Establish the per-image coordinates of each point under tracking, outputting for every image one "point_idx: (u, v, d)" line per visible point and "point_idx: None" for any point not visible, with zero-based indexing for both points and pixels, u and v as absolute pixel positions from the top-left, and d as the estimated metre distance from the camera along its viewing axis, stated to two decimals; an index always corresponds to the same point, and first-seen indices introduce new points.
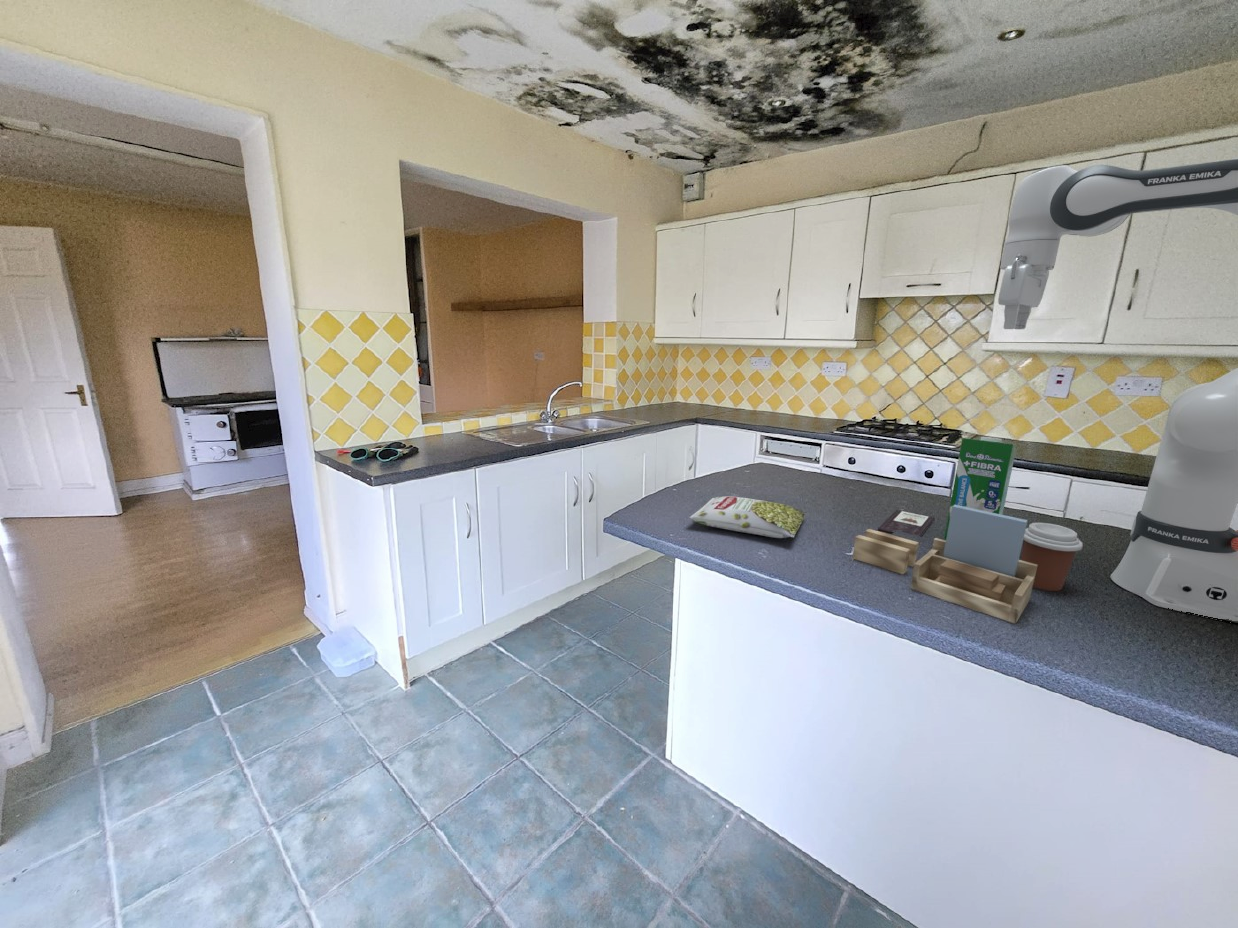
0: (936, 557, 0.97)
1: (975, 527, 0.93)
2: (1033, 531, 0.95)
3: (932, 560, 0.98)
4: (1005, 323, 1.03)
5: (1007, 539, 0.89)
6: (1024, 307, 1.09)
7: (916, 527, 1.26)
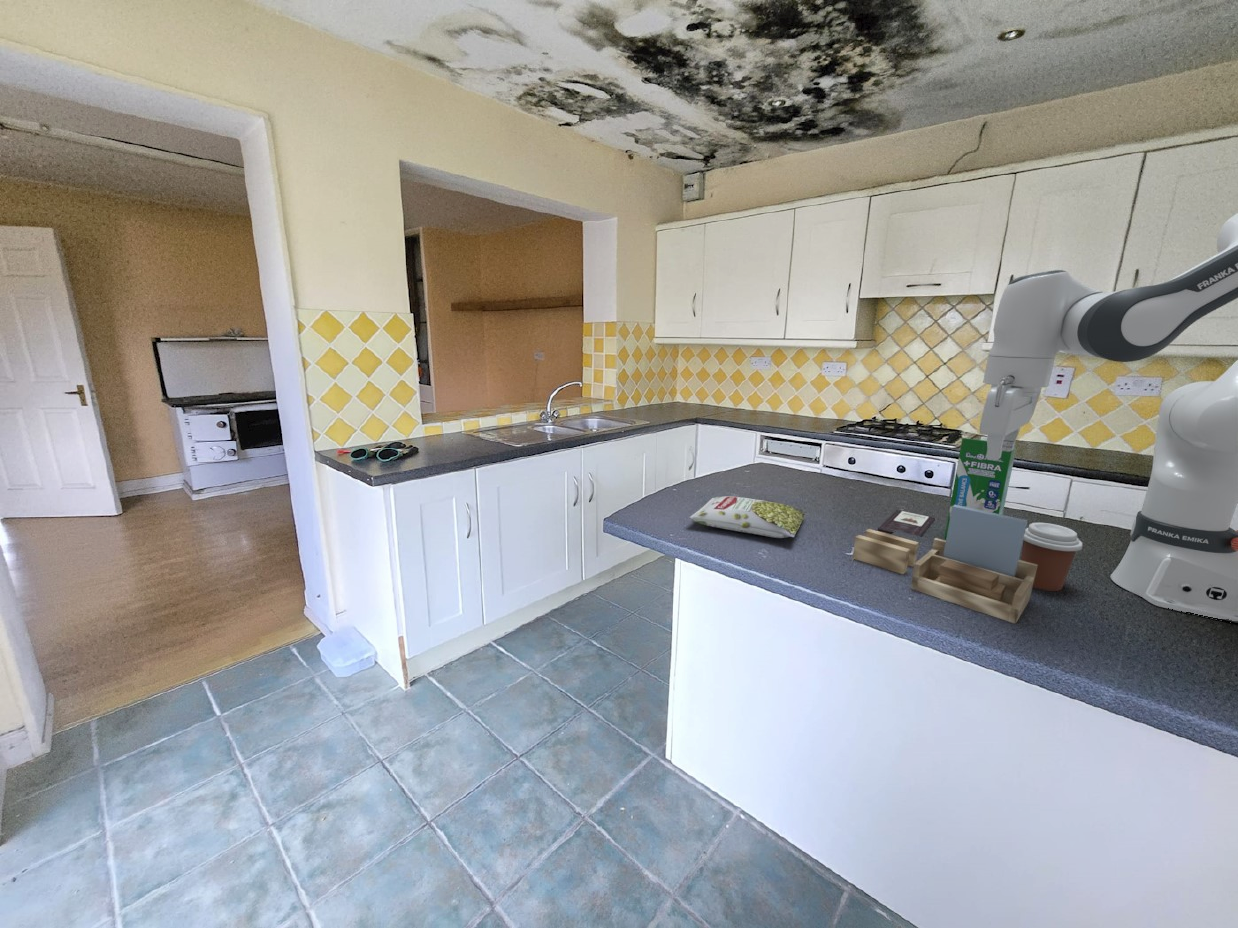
0: (936, 557, 0.97)
1: (975, 527, 0.93)
2: (1033, 531, 0.95)
3: (932, 560, 0.98)
4: (988, 452, 0.85)
5: (1007, 539, 0.89)
6: None
7: (916, 527, 1.26)
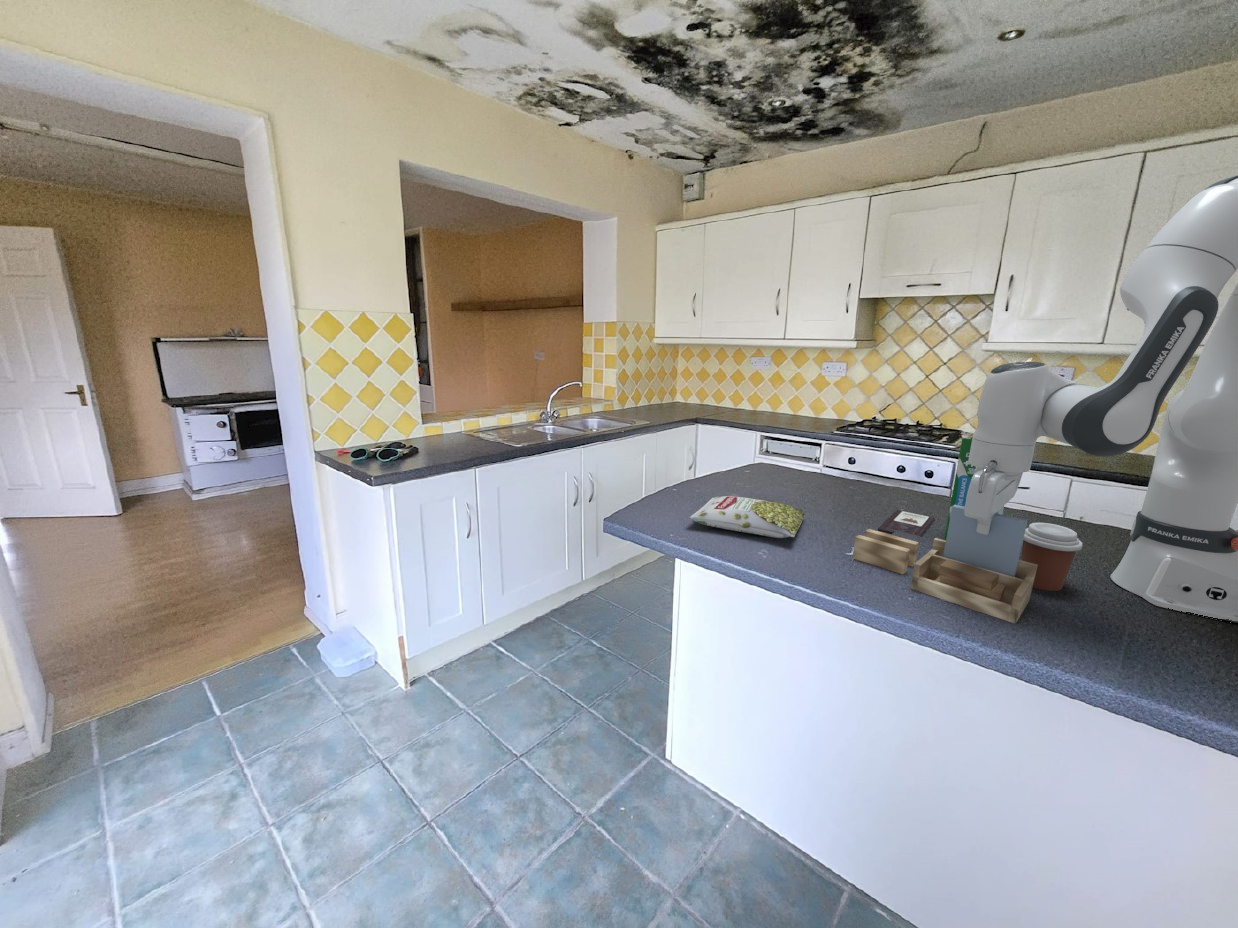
0: (936, 557, 0.97)
1: (975, 527, 0.93)
2: (1033, 531, 0.95)
3: (932, 560, 0.98)
4: (978, 526, 0.91)
5: (1007, 539, 0.89)
6: None
7: (916, 527, 1.26)
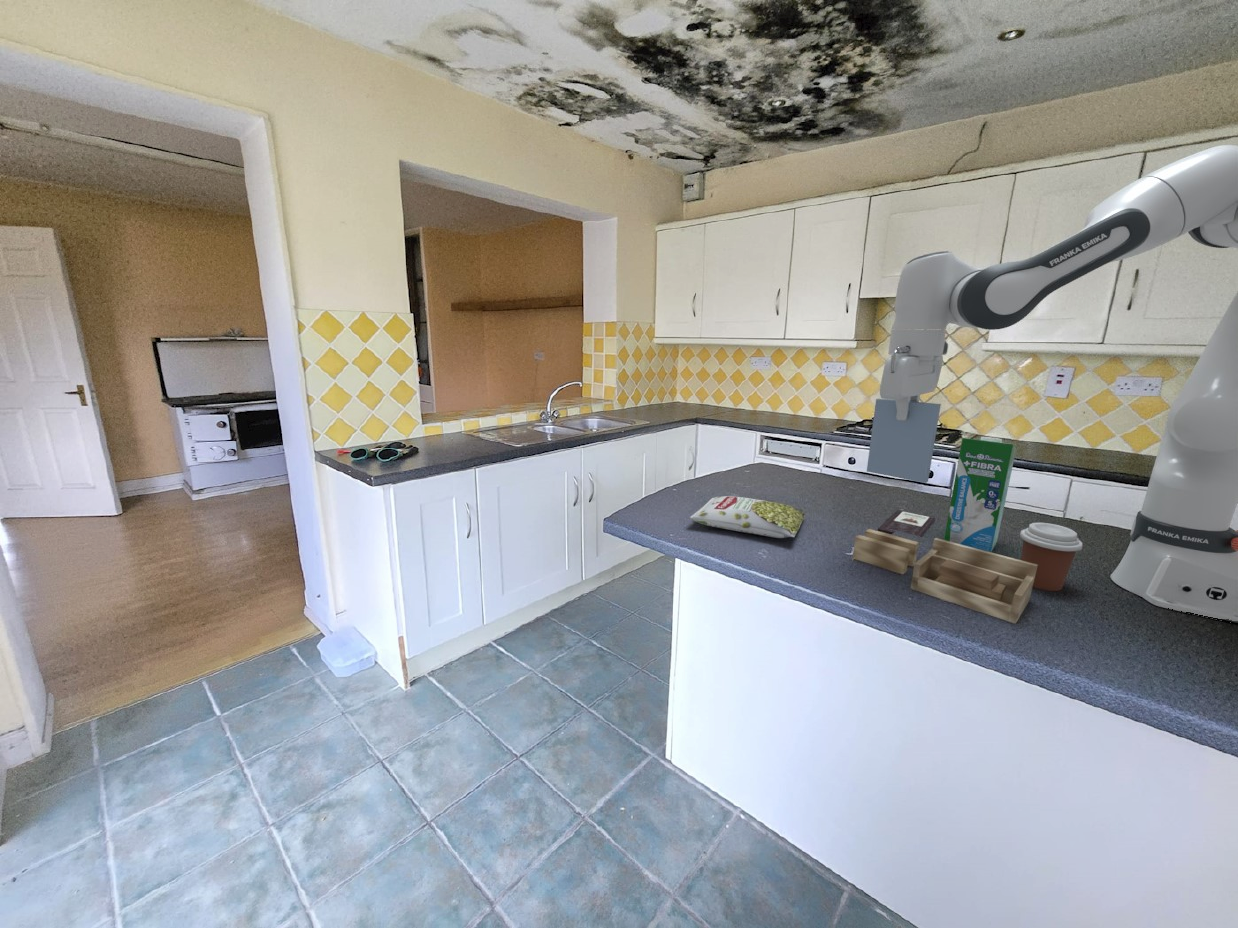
0: (936, 557, 0.97)
1: None
2: (1033, 531, 0.95)
3: (932, 560, 0.98)
4: (897, 413, 0.97)
5: (923, 423, 0.96)
6: None
7: (916, 527, 1.26)
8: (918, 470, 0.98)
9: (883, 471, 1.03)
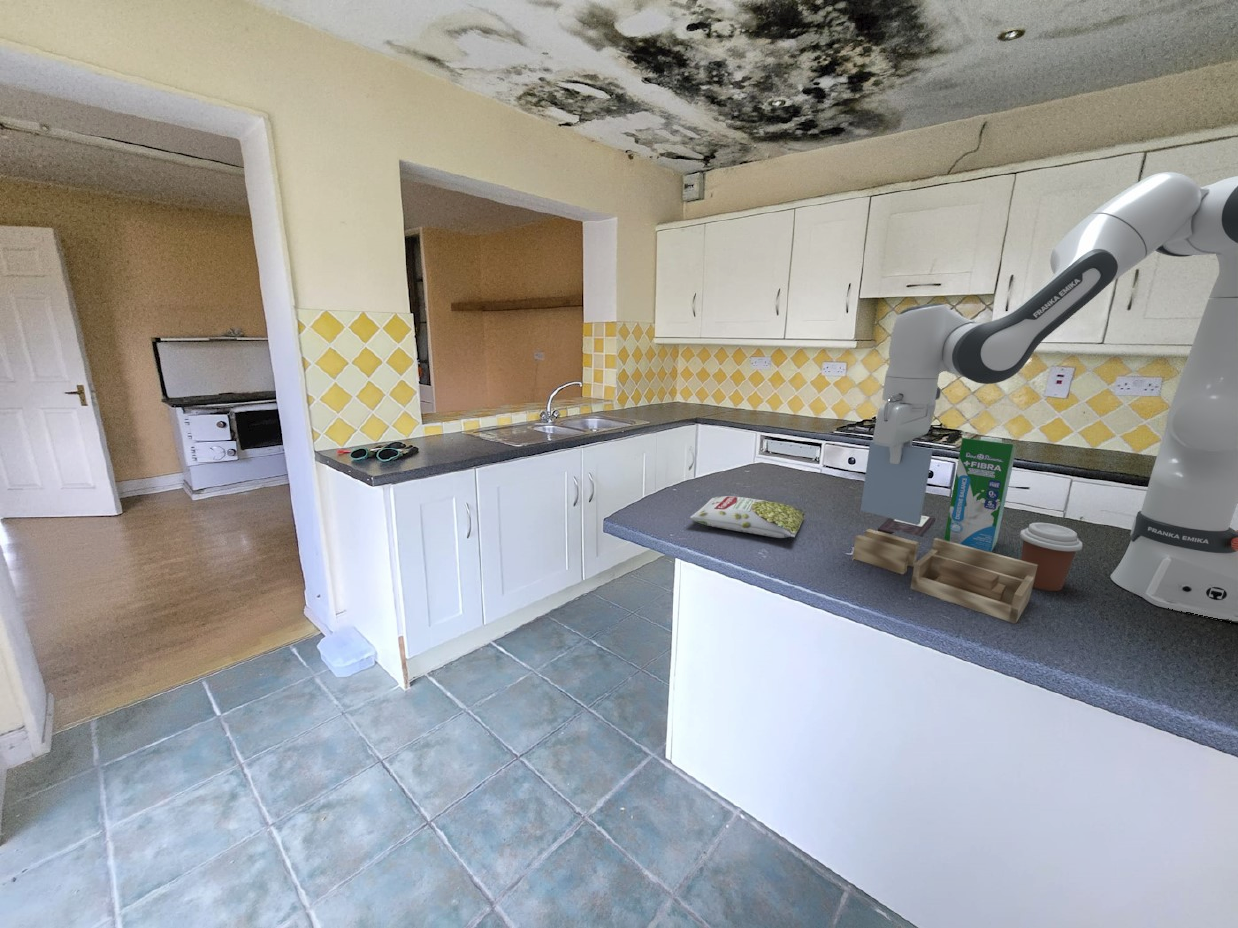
0: (936, 557, 0.97)
1: (889, 459, 1.01)
2: (1033, 531, 0.95)
3: (932, 560, 0.98)
4: (891, 457, 1.00)
5: (915, 467, 0.98)
6: None
7: (916, 527, 1.26)
8: (910, 512, 1.00)
9: (876, 511, 1.05)
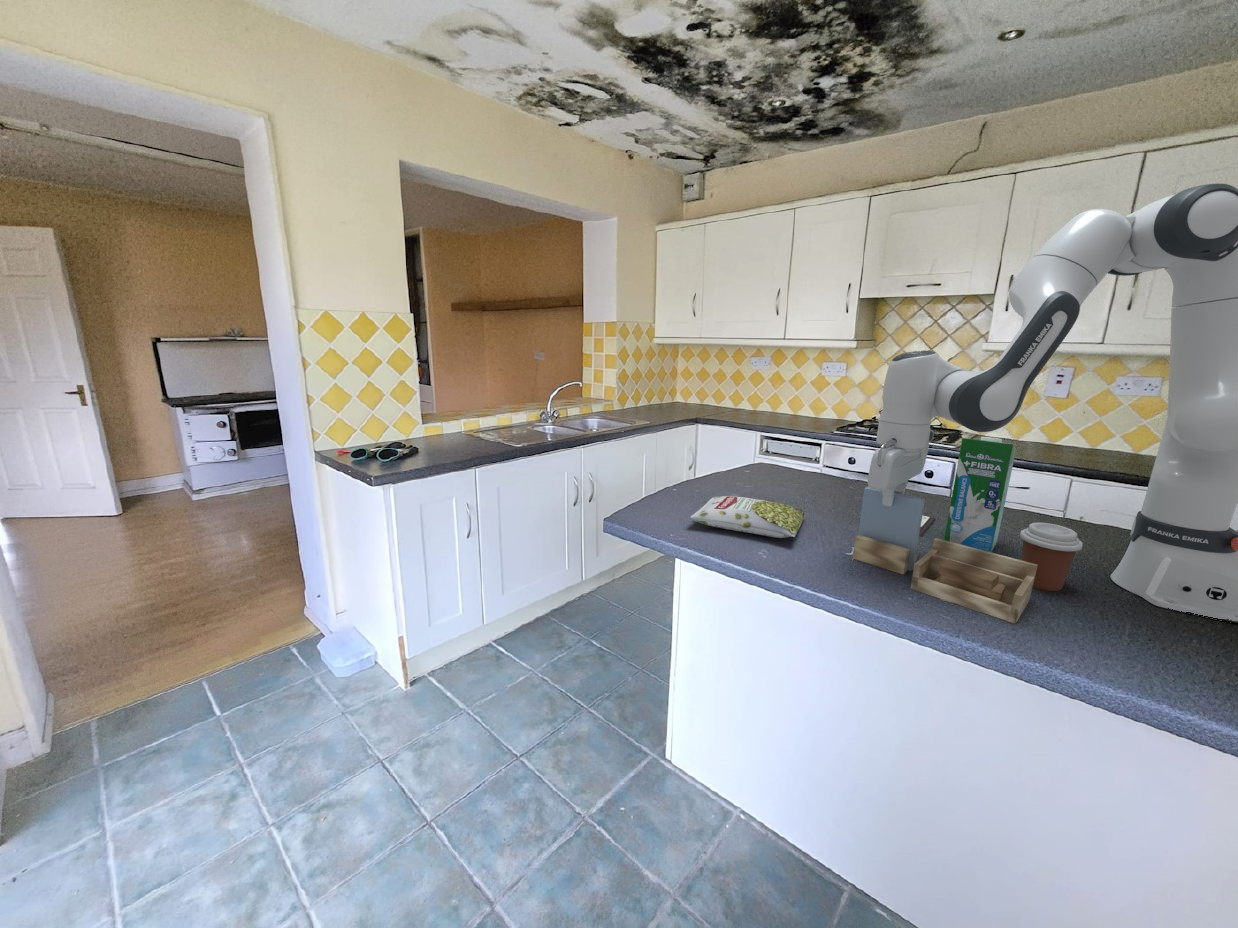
0: (936, 557, 0.97)
1: (883, 506, 1.04)
2: (1033, 531, 0.95)
3: (932, 560, 0.98)
4: (883, 499, 1.01)
5: (908, 516, 1.01)
6: None
7: None
8: None
9: None
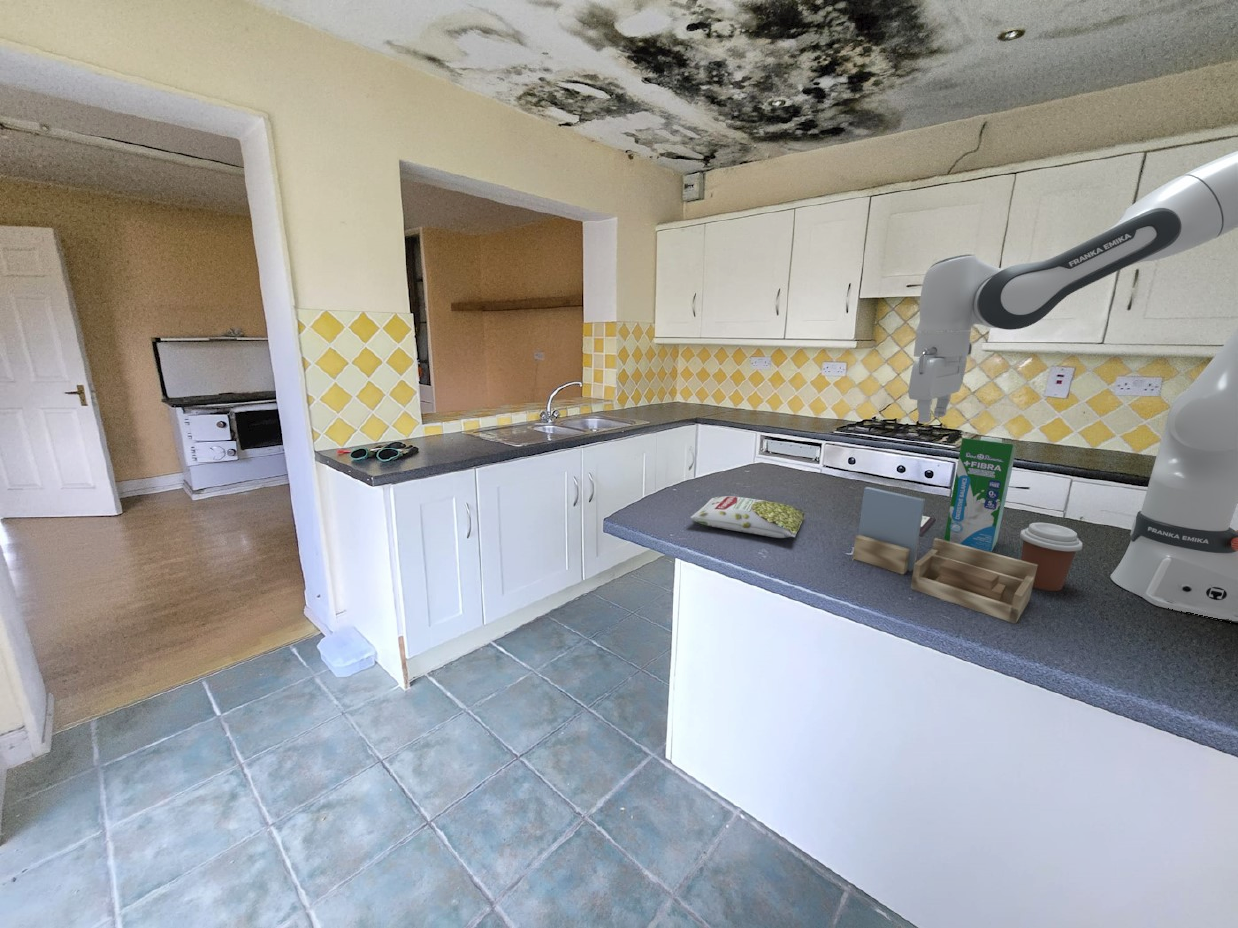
0: (936, 557, 0.97)
1: (883, 506, 1.04)
2: (1033, 531, 0.95)
3: (932, 560, 0.98)
4: (919, 416, 0.97)
5: (908, 516, 1.01)
6: None
7: None
8: None
9: None
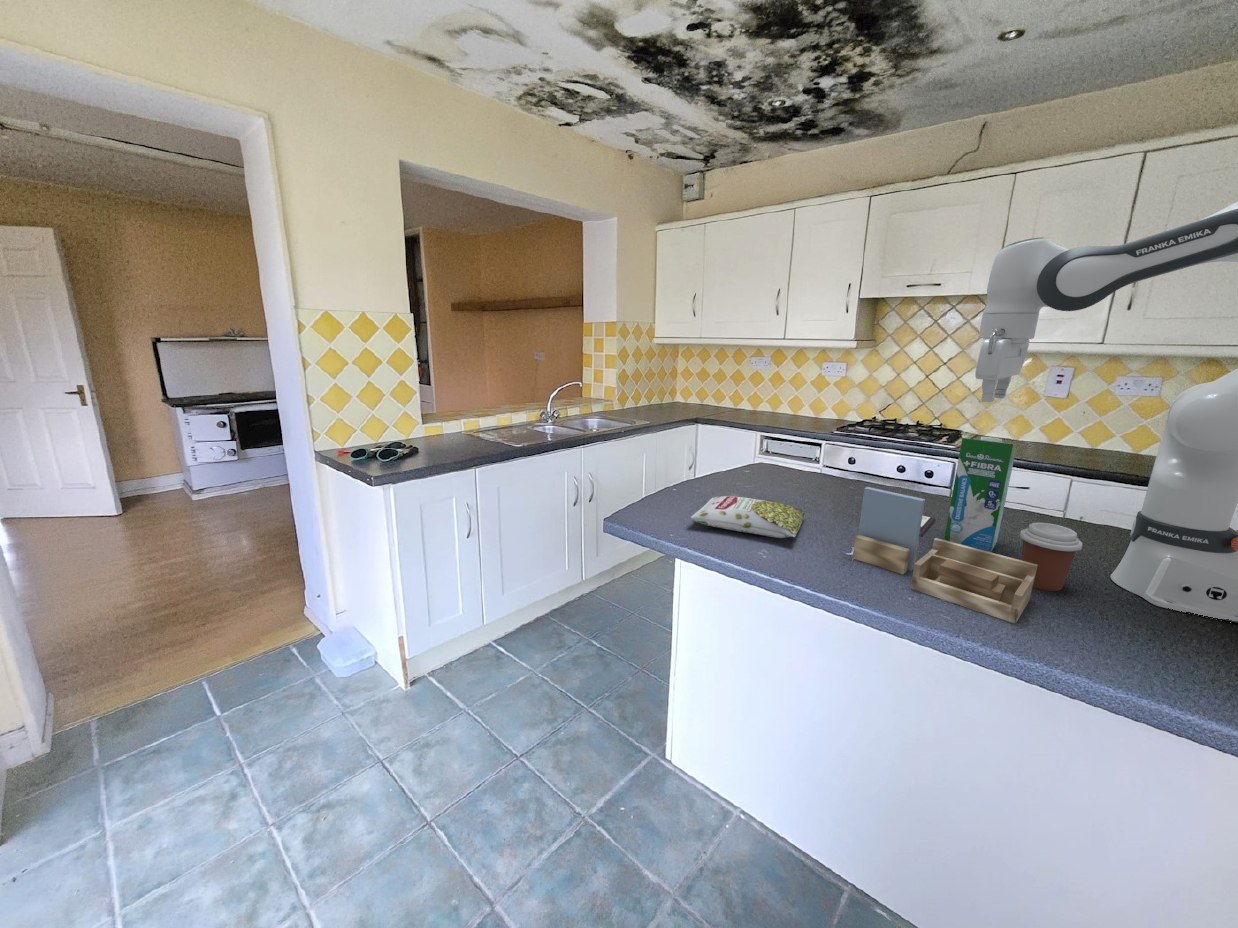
0: (936, 557, 0.97)
1: (883, 506, 1.04)
2: (1033, 531, 0.95)
3: (932, 560, 0.98)
4: (983, 396, 1.00)
5: (908, 516, 1.01)
6: None
7: None
8: None
9: None
